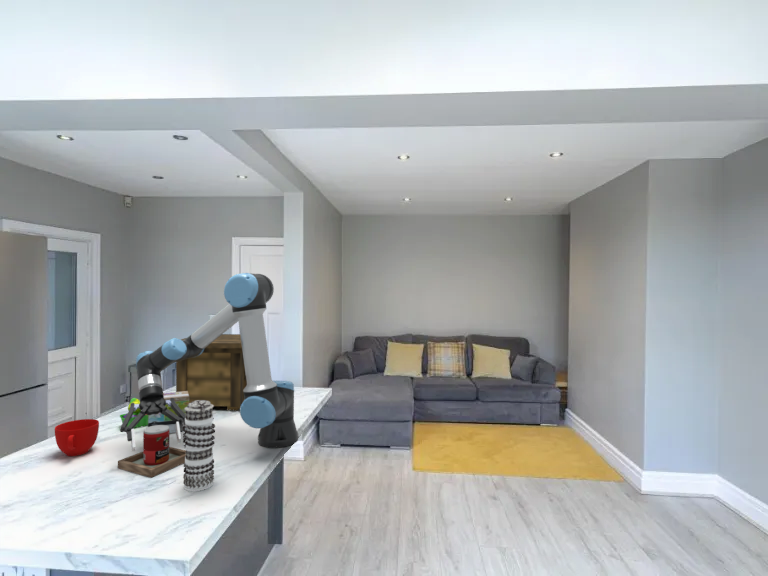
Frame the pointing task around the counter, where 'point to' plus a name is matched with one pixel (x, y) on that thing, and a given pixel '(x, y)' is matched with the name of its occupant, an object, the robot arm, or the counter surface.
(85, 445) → the ceramic cup
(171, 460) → the tray
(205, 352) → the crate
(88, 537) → the counter surface
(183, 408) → the tea box
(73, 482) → the counter surface
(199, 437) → the decorative candle
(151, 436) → the canned food
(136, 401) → the fruit basket
